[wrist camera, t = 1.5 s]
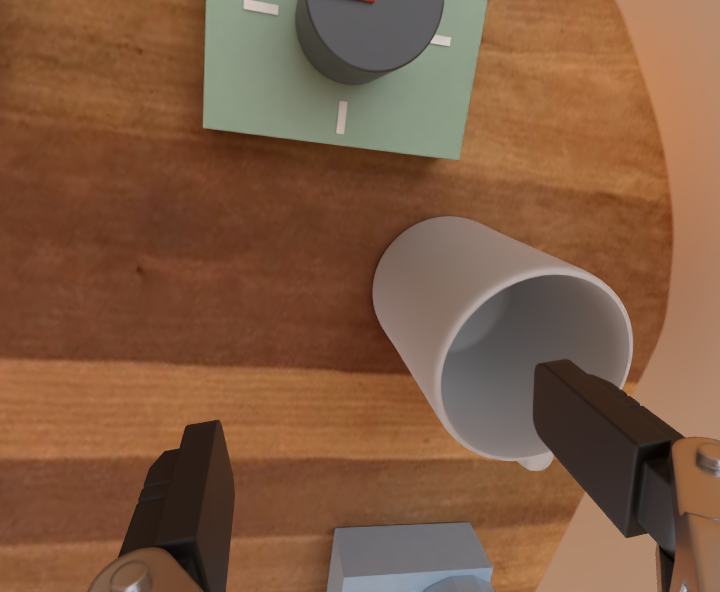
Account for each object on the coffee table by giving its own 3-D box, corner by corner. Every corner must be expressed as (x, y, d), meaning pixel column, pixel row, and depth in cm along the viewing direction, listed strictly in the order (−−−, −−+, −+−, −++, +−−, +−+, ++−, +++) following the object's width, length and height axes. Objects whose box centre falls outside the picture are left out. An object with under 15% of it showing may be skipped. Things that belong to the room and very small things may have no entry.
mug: (349, 248, 27) (402, 320, 17) (488, 192, 27) (621, 229, 17) (413, 415, 31) (485, 552, 21) (532, 364, 32) (658, 474, 22)
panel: (474, -56, 23) (504, -83, 20) (439, 157, 26) (460, 161, 23) (216, -117, 21) (208, -157, 18) (209, 128, 24) (202, 128, 21)
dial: (413, -29, 20) (461, -79, 16) (396, 92, 22) (435, 81, 17) (300, -54, 19) (312, -115, 15) (290, 76, 21) (298, 59, 16)
